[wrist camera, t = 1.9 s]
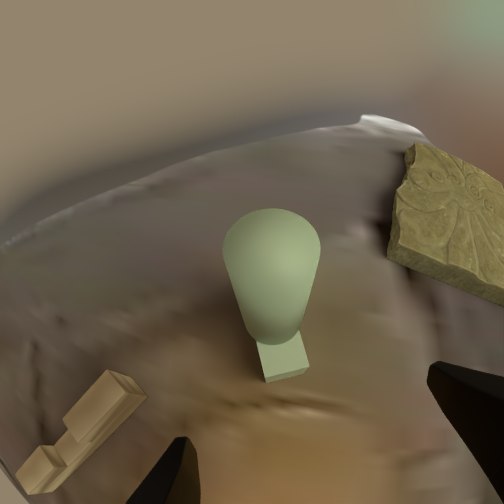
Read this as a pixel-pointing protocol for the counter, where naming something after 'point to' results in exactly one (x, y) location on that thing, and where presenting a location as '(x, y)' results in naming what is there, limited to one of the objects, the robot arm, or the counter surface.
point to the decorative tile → (450, 223)
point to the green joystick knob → (273, 284)
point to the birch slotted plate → (82, 432)
